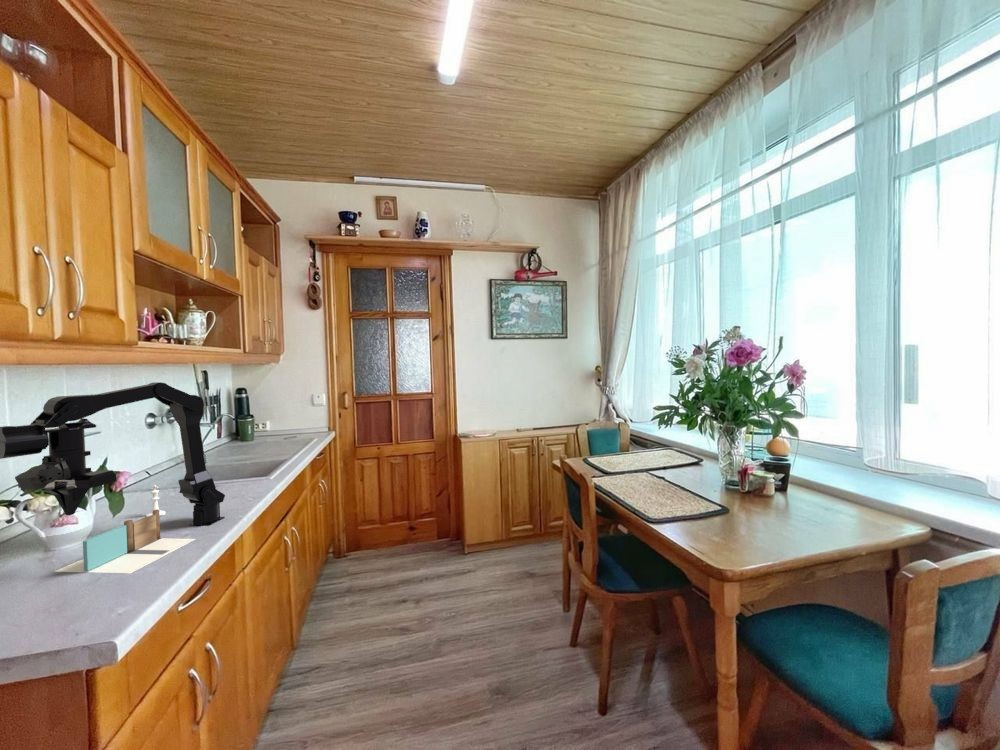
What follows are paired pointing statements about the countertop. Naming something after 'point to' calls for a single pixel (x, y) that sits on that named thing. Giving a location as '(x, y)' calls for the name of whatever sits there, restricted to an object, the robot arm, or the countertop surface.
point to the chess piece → (155, 502)
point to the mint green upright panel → (104, 547)
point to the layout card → (132, 557)
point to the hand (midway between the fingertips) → (70, 514)
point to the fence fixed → (142, 531)
